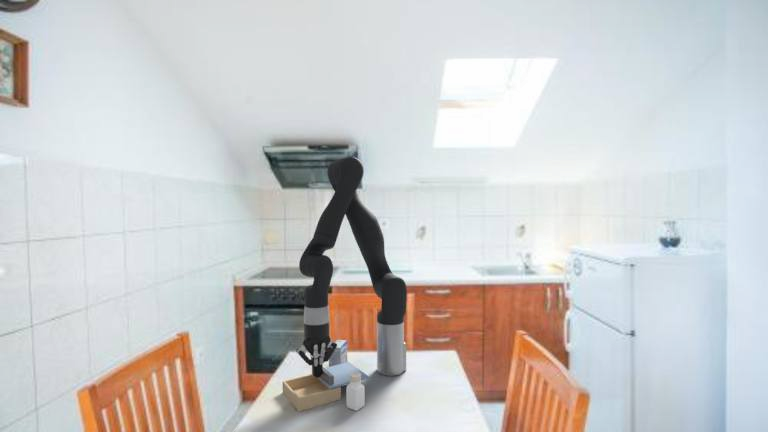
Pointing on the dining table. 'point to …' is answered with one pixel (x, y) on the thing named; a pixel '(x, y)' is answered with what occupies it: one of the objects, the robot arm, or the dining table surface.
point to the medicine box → (339, 353)
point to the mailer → (309, 392)
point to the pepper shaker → (355, 392)
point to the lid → (339, 375)
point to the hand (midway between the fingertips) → (317, 376)
